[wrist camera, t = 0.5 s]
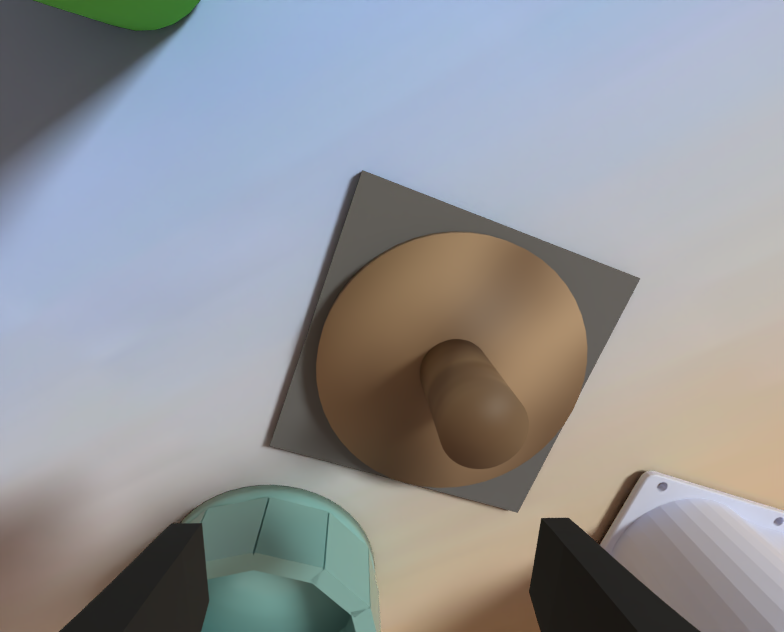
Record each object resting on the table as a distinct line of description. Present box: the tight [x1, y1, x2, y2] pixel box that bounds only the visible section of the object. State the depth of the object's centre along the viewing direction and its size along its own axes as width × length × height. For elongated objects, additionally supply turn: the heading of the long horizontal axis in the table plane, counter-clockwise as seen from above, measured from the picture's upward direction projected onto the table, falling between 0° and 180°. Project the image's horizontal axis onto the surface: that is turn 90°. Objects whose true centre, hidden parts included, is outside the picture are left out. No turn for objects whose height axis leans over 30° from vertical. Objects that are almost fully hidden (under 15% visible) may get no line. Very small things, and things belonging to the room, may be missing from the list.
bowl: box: [181, 485, 381, 632], centre depth 20 cm, size 10×10×4 cm
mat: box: [270, 170, 640, 513], centre depth 19 cm, size 12×12×1 cm
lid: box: [316, 231, 587, 488], centre depth 16 cm, size 11×11×5 cm
